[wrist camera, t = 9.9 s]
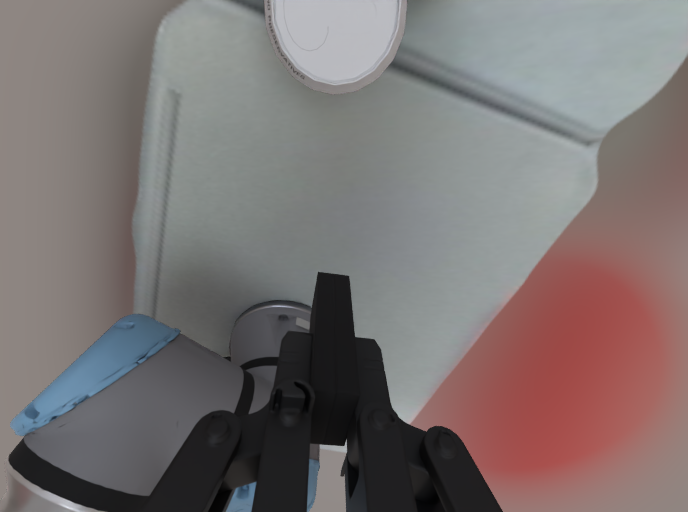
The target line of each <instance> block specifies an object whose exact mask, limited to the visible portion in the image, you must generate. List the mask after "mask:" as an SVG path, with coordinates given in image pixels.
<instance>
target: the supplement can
mask: <svg viewBox="0 0 688 512" xmlns="http://www.w3.org/2000/svg"><path fill="white" fill-rule="evenodd" d="M264 6H265V20H266V29H267V31H268V34H269V37H270V40H271V42H272V45H273V48H274V51H275V53H276V55H277V57H278V58H279V59H280V61H281V62H282V63H283V65H284V66H285V67H286V69H287V70H288V71H289V72H290V74H291V75H292V76H293V77H294V78H296V79H297V80H299V81H300V82H302V83H303V84H305V85H306V86H308V87H309V88H311V89H312V90H316V91H320V92H325V93H329V94H333V95H336V94H343V93H349V92H355V91H358V90H360V89H361V88H363V87H365V86H367V85H368V84H370V83H372V82H373V81H375V80H377V79H378V78H379V76H380V75H381V74H382V73H383V72H384V70H385V69H386V68H387V67H388V66H389V64H390V63H391V62H392V61H393V60H394V57H395V55H396V52H397V50H398V47H399V45H400V43H401V40H402V38H403V35H404V30H405V21H406V12H407V0H264Z"/></svg>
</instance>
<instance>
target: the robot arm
mask: <svg viewBox="0 0 688 512" xmlns="http://www.w3.org/2000/svg"><path fill="white" fill-rule="evenodd" d="M180 332H181V331H180V330H179V329H177V328H175V329H172V328H170V327H168V326H166V325H164V324H162V323H160V322H158V321H156V320H154V319H152V318H150V317H148V316H146V315H142V314H132V315H128V316H126V317H123V318H121V319H120V320H118V321H117V322H116V323H115V324H114V325H113V326H112V327H111V328H110V329H109V330H108V331H106V332H105V333H104V334H103V335H102V336H101V337H100V338H99V339H98V340H97V341H96V342H95V343H94V344H93V345H92V346H90V347H89V348H88V349H87V350H86V351H85V352H84V353H83V354H82V355H81V356H80V357H79V358H78V359H77V360H76V361H74V362H73V363H72V364H71V365H70V366H69V367H68V368H67V369H66V370H65V371H64V372H63V373H62V374H61V375H60V376H58V378H57V379H55V380H54V381H53V382H52V383H51V384H50V385H49V386H48V387H47V388H46V389H45V390H44V391H43V392H42V393H40V394H39V395H38V396H37V397H36V398H35V399H34V400H33V401H32V402H31V403H30V404H29V405H28V406H27V407H25V408H24V409H23V410H22V411H21V412H20V413H19V414H18V415H17V416H16V417H15V418H14V419H13V420H12V421H11V424H10V427H11V428H12V429H13V430H14V431H15V434H16V435H20V436H24V435H25V436H24V438H23V439H22V440H21V442H20V443H19V444H18V445H17V446H16V448H15V449H14V450H13V451H12V452H11V454H10V455H9V456H8V457H7V458H6V460H5V463H4V465H5V473H6V479H7V491H6V494H5V495H4V496H3V498H2V499H1V500H0V512H309V511H310V509H311V508H312V505H313V503H314V500H315V495H316V486H317V475H318V471H319V468H320V465H319V444H322V445H337V446H344V445H345V442H346V439H347V454H346V457H345V460H344V463H343V466H342V470H341V476H344V474H345V489H346V490H345V491H346V512H503V511H502V509H501V508H500V506H499V504H498V503H497V501H496V499H495V497H494V495H493V494H492V492H491V490H490V488H489V487H488V485H487V483H486V482H485V480H484V478H483V476H482V475H481V473H480V471H479V469H478V468H477V466H476V464H475V462H474V461H473V459H472V457H471V456H470V454H469V452H468V450H467V449H466V447H465V445H464V443H463V442H462V440H461V439H460V438H459V437H458V435H457V434H455V433H454V432H453V431H451V430H450V429H448V428H445V427H442V426H434V427H432V428H430V429H428V431H427V432H426V431H423V430H421V429H418V428H415V427H413V426H411V425H409V424H407V423H405V422H404V421H403V420H401V419H400V418H399V417H398V415H397V414H396V412H395V411H394V410H393V409H392V406H391V403H390V397H389V392H388V386H387V381H386V375H385V371H384V364H383V359H382V353H381V349H380V347H379V346H378V344H377V343H376V341H375V340H374V339H367V338H358V337H355V332H354V322H353V311H352V301H351V290H350V279H349V276H345V275H338V274H330V273H323V272H318V275H317V281H316V287H315V293H314V298H313V304H312V308H310V307H308V306H306V305H303V304H300V303H296V302H291V301H269V302H264V303H261V304H258V305H255V306H253V307H251V308H250V309H248V310H246V311H245V312H244V313H243V314H242V315H241V316H240V317H239V318H238V319H237V321H236V323H235V325H234V327H233V330H232V333H231V336H230V343H229V348H230V355H231V356H230V357H221V356H220V355H218V354H216V353H214V352H213V351H211V350H209V349H207V348H205V347H204V346H202V345H200V344H198V343H197V342H195V341H193V340H191V339H190V338H188V337H186V336H184V335H183V334H181V333H180Z"/></svg>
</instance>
